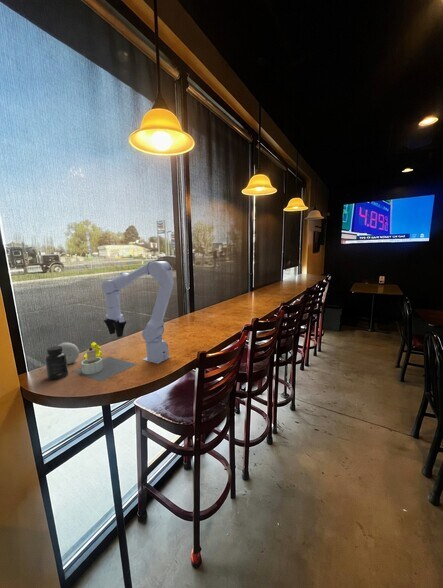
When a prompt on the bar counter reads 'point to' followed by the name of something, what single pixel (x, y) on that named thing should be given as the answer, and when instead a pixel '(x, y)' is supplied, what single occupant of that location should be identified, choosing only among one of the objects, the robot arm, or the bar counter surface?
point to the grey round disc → (72, 350)
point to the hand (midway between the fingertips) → (116, 335)
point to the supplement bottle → (56, 363)
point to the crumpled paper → (97, 347)
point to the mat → (108, 368)
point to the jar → (92, 366)
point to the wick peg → (91, 355)
